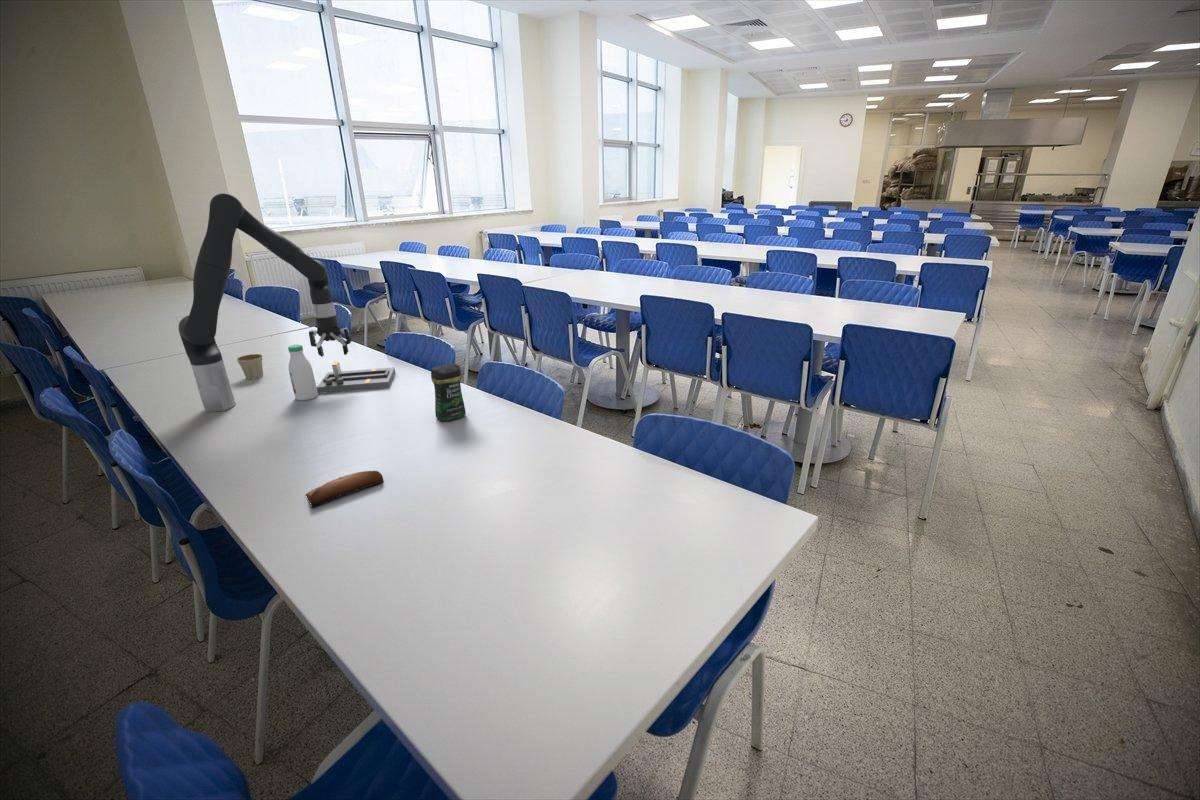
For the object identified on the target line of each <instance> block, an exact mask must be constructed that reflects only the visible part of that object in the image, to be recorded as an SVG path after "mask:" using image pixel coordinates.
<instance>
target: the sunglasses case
mask: <svg viewBox="0 0 1200 800" xmlns="http://www.w3.org/2000/svg"><path fill="white" fill-rule="evenodd" d="M379 483H384V477H383V475H382V473H381V472H380V471H378V470H364V471H363V470H362V471H359V472H354V473H350V474H347V475H343V476H340V477H338V478H335V479H332V480H330V481H327V482H325V483H324V484H323V485H321V486H318V487H316V488H314V489H312V490H310V491H308V492H307V493H306V494H305V495H306V496H307V498H308V499H307V498H306V499H307V501H308V500H309V501H308V502H309V504H310V503H311V504H310V506H311V505H312V506H311V508H312V507H313V508H314V507H318V506H320V505H323V504H325V503H328V502H329V501H331V500H334V499H336V498H339V497H341V496H344V495H349V494H351V493H353V492H356V491H357V490H362V489H365V488H368V487H371V486H373V485H377V484H379Z"/></svg>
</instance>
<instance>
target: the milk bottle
mask: <svg viewBox="0 0 1200 800" xmlns="http://www.w3.org/2000/svg"><path fill="white" fill-rule="evenodd" d="M287 349H288V353H289V355H290V358H289V363H288V374H289V379H290V382H291V387H292V391H293V395H294V398H295V400H297V401H310V400H312V399H315V398H317V397H318V395H319V393H318V391H317V383H316V379H315V375H314V371H313V367H312V365H311V363H310V361H309V360H308V358H307V357H306V356H305V354H304V347H303V345H302V344H292V345H289V346H287Z"/></svg>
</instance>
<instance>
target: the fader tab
mask: <svg viewBox="0 0 1200 800" xmlns="http://www.w3.org/2000/svg"><path fill="white" fill-rule="evenodd" d="M331 367H332V372H334V377H335V378H341V377H342V374H341V371H342V370H341V369H342V368H341V364H340V361H339V360H338V361H333V363H332V364H331Z"/></svg>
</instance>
